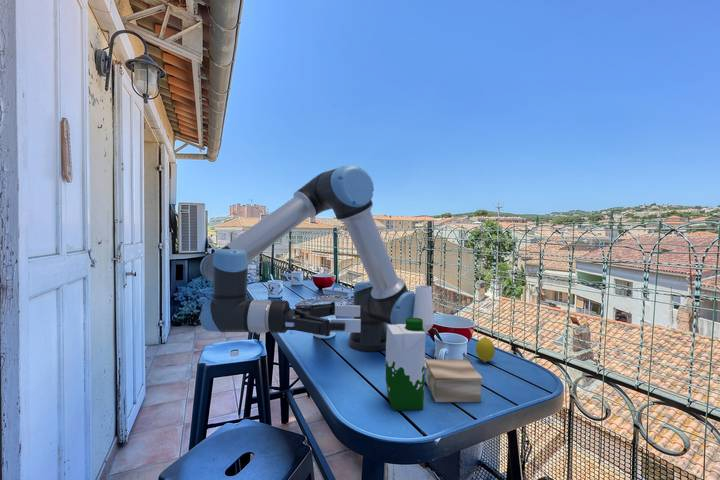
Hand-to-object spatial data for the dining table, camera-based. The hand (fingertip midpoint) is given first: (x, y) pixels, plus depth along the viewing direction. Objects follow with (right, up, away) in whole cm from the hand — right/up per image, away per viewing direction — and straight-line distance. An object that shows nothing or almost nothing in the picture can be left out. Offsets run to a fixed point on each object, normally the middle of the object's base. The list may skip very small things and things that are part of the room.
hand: (360, 317), depth 78 cm
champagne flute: (+19, -20, +25) cm, 38 cm away
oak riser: (+24, -21, +7) cm, 32 cm away
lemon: (+39, -20, +26) cm, 51 cm away
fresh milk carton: (+11, -21, +1) cm, 23 cm away
